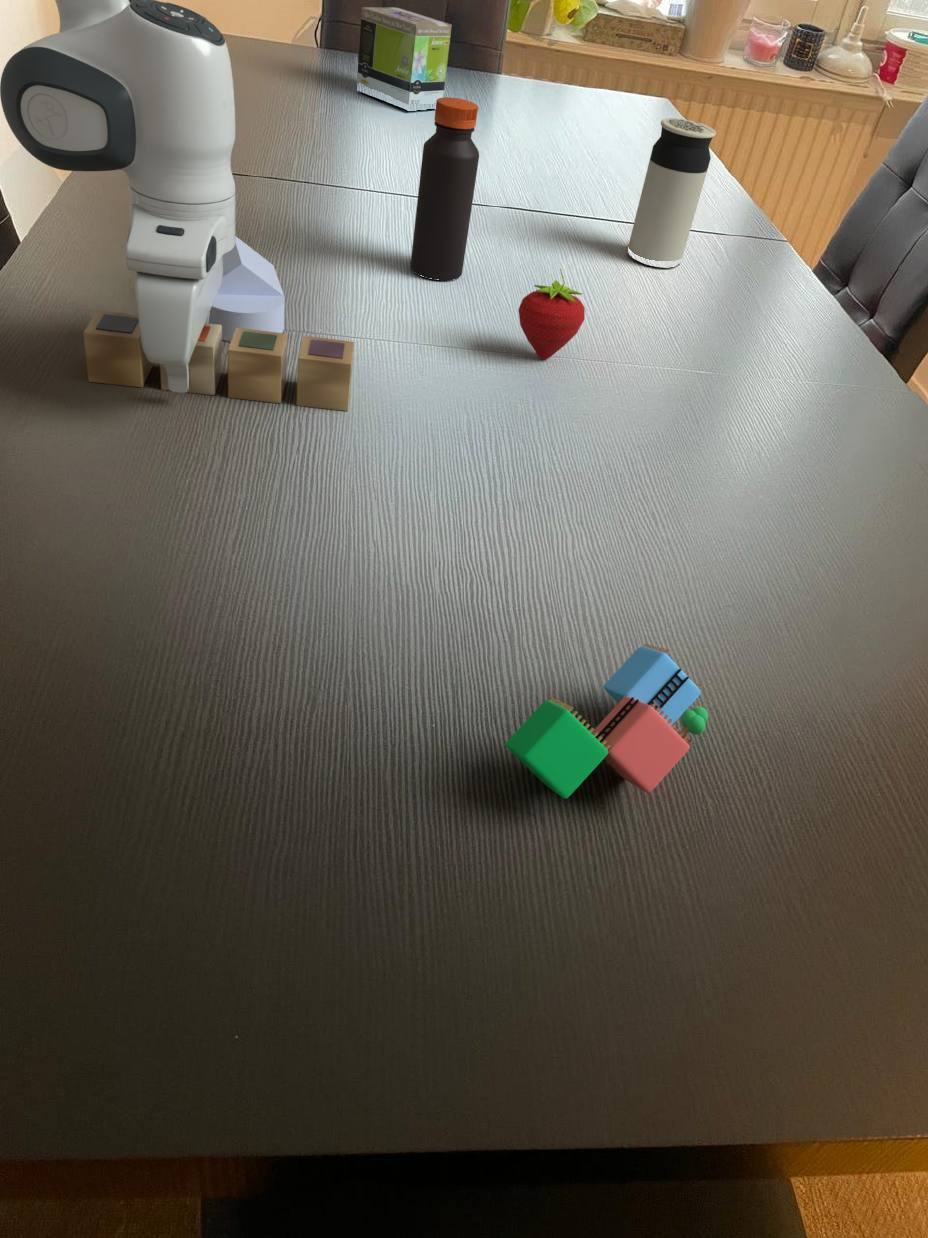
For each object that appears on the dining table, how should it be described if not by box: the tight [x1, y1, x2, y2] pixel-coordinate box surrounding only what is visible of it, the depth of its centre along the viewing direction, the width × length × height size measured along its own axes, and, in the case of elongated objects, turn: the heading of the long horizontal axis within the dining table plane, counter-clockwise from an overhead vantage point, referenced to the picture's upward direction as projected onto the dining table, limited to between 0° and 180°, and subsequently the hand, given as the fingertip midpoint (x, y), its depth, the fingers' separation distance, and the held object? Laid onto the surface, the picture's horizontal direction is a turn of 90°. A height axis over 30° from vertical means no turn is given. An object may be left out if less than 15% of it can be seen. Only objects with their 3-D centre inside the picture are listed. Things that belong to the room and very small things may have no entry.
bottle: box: [410, 96, 480, 281], centre depth 121 cm, size 7×7×20 cm
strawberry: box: [518, 268, 586, 360], centre depth 109 cm, size 6×8×10 cm
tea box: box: [356, 6, 453, 105], centre depth 188 cm, size 15×10×15 cm
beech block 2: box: [227, 328, 288, 404], centre depth 95 cm, size 5×5×5 cm
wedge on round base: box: [208, 235, 286, 343], centre depth 107 cm, size 9×7×13 cm
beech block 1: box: [83, 310, 154, 388], centre depth 94 cm, size 5×5×5 cm
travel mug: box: [627, 117, 717, 261], centre depth 138 cm, size 8×8×18 cm
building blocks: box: [505, 643, 709, 800], centre depth 64 cm, size 8×8×12 cm
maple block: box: [159, 323, 223, 396], centre depth 95 cm, size 5×5×5 cm
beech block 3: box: [295, 335, 355, 412], centre depth 96 cm, size 5×5×5 cm
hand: (189, 366), depth 95 cm, fingers open, 8 cm apart
